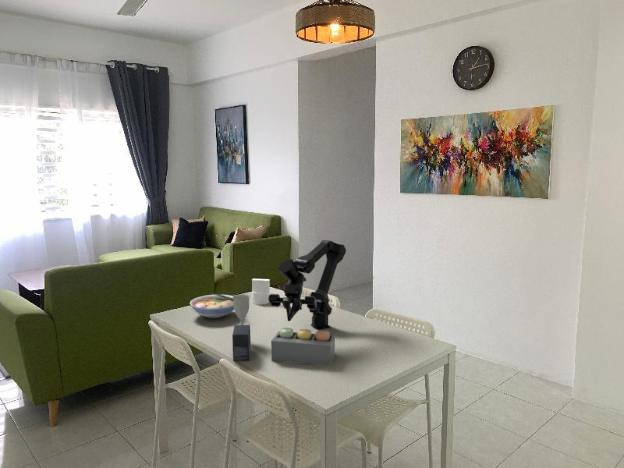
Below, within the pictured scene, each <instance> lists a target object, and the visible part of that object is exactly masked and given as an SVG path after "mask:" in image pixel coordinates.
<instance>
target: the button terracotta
mask: <svg viewBox="0 0 624 468" xmlns="http://www.w3.org/2000/svg"><path fill="white" fill-rule="evenodd" d="M315 334H316V341H327V342H329V341H330V335H331V332H330V331H328V330H322V329H320V330H317V331H316V332H315Z"/></svg>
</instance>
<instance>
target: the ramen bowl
mask: <svg viewBox="0 0 624 468" xmlns="http://www.w3.org/2000/svg"><path fill="white" fill-rule="evenodd" d="M233 296H234V295H229V294H219V293H215V292H212V294H209V295H207V294H206V295H202V296H198V297H195V298H193V299H191V300H190V302H189V305H190V307H191V308H192V309H193V310H194V311H195V312H196V313H197V314H198V315H200V316H202V317H205V318H209V319H220V318H223V317H224V316H227V315H229V314H230V313H232V312H233V311H235V310H234V299H233V298H232V297H233Z"/></svg>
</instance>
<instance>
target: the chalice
mask: <svg viewBox="0 0 624 468" xmlns="http://www.w3.org/2000/svg"><path fill="white" fill-rule="evenodd" d="M232 296H233V297H232V298H233V299H234V310H233V311H234V313H235V314H236V316H237V318H238V319H239V320H240V321H239V322H240V323H239V325H245V324H244V319H246V317H247V315H248V313H249V310H250V298H251V295H249V294H245V293H244V294H235V295H232Z"/></svg>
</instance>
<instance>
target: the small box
mask: <svg viewBox="0 0 624 468" xmlns="http://www.w3.org/2000/svg"><path fill="white" fill-rule="evenodd" d="M231 338H232V339H231V340H232V341H231V342H232V343H231V344H232V362H248V361H251V354H252V343H251V342H252V341H251V340H252V339H251V324H243V325H241V324H234V326H233V330H232V337H231Z"/></svg>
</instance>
